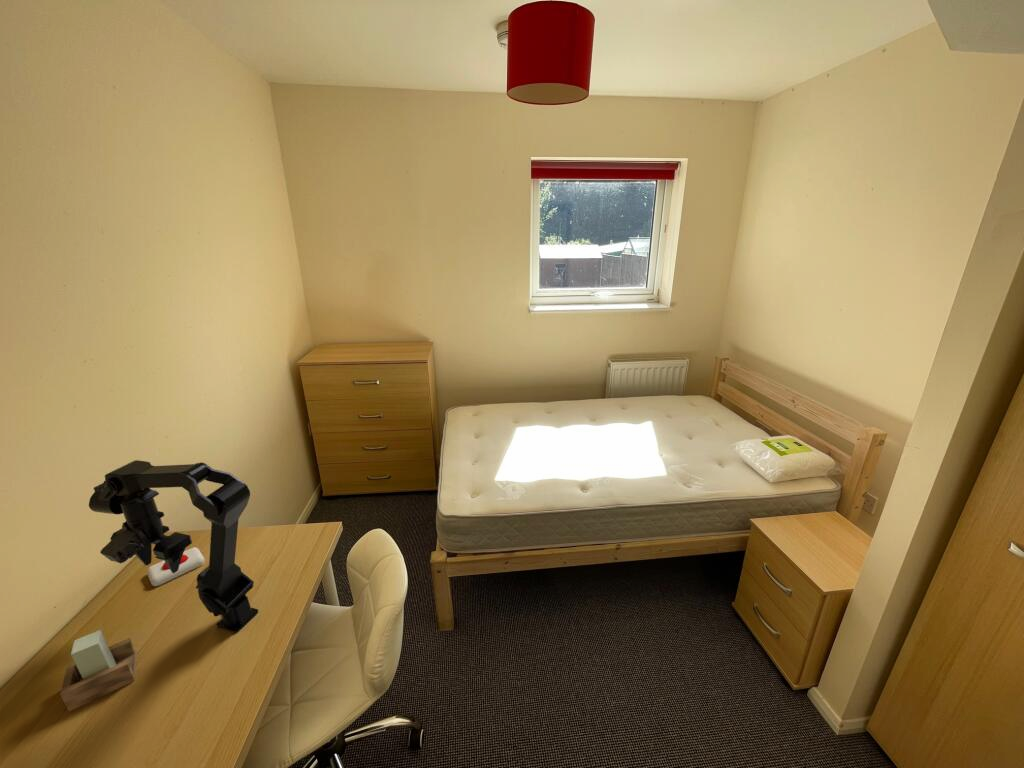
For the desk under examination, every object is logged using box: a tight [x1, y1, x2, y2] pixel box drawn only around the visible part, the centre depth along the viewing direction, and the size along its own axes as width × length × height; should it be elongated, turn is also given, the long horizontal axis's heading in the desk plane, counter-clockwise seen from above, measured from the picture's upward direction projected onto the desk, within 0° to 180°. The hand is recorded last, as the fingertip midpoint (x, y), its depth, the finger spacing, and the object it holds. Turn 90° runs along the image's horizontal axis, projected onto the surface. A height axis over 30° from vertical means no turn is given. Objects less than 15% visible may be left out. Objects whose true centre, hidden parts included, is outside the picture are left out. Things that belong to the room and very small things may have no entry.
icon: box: [146, 546, 206, 587], centre depth 120 cm, size 12×4×10 cm
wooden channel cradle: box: [59, 637, 137, 713], centre depth 89 cm, size 10×8×5 cm
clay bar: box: [70, 629, 116, 680], centre depth 88 cm, size 4×4×10 cm
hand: (161, 568), depth 103 cm, fingers open, 9 cm apart
